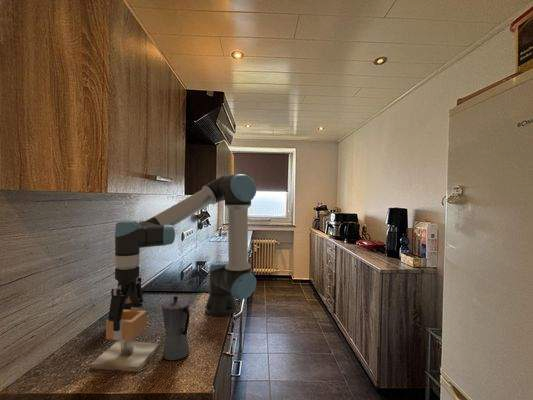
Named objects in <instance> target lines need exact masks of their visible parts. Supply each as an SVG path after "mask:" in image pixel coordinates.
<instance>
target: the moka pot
mask: <svg viewBox="0 0 533 400" xmlns="http://www.w3.org/2000/svg"><path fill="white" fill-rule="evenodd" d="M189 303H190V302H189V301H188V300H181V299H179V297H178V296H173V300H172V299H171V300H166V301H165V302H164V303H163V304H161V309H162V317H163V318H162V319H163V325H164V326H163V327H164V332H165V335H164V345H163V346H164V347H163V353H162V357H163V359H165V360H167V361H177V360H182V359H184V358H185V357H187V356H188V355H189V354H190V344H189V338H188V327H189V322H190V304H189Z"/></svg>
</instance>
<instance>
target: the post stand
mask: <svg viewBox="0 0 533 400" xmlns="http://www.w3.org/2000/svg"><path fill="white" fill-rule="evenodd" d="M160 346H161V345H160V343H157V342H144V341H143V342H142V341H141V342H140V341H138V342H137V341H135V339H133V340H132V341H131V340H116V342H114V344H112V345H111V346H110V347H109V348H107V349H106V350H105V351H104V352H103V353H102V354H100V355H99V356H98V357H97V358H96V359H94V360H93V361H92V362H91V363H90V369H97V370H108V371H110V370H111V371H121V372H122V371H123V372H136V373H137V372H138V373H139V372H140V371H141V370H142V369H143V367H145V365H146V364H147V363H148V361H149V360H150V359H151V358H152V357H153V356H154V355H155V353H157V351H158V350H159V349H160Z"/></svg>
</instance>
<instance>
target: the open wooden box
mask: <svg viewBox="0 0 533 400" xmlns="http://www.w3.org/2000/svg"><path fill="white" fill-rule="evenodd" d="M147 313H148V312H147V310H143V309H142V310H140V309H139V310H123V314H122V318H121V319H123V340H131V341H132V340H133V339H134V340H135V339H136V338H137V337H138V336H139V335H141V333H143V332H144V331H145V330H146V329H147V328H148V327H147V326H148V325H147V324H148V320H147V318H148V317H147ZM105 339H106V340H114V331H113V321H108V319H106V320H105Z"/></svg>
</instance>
